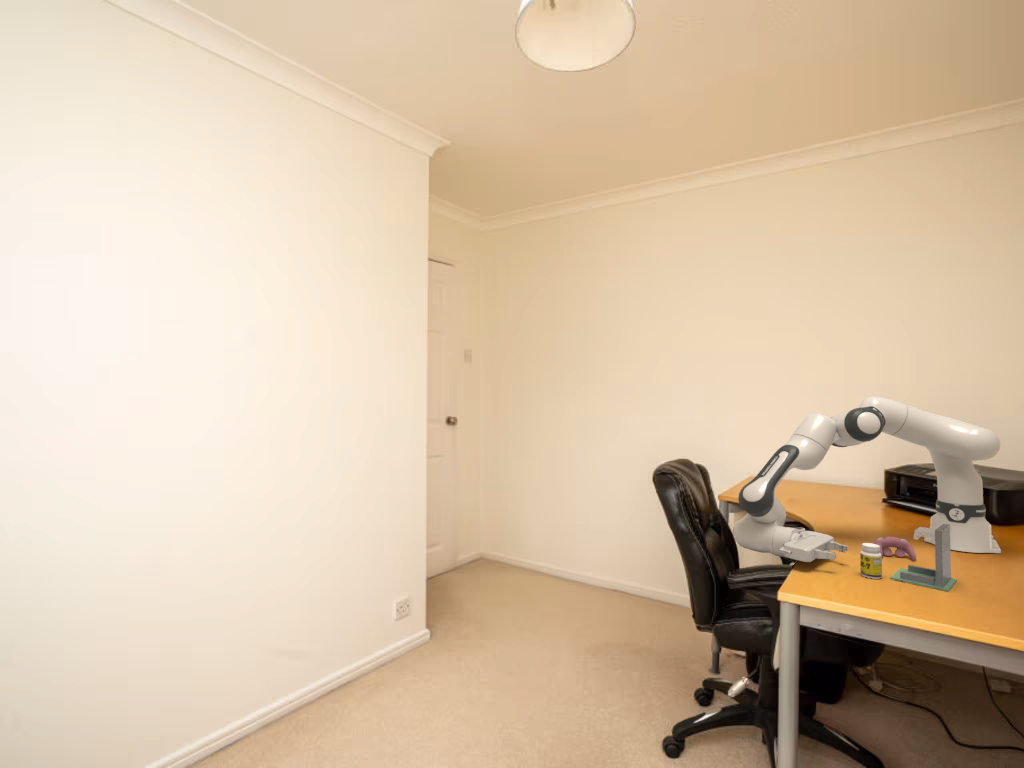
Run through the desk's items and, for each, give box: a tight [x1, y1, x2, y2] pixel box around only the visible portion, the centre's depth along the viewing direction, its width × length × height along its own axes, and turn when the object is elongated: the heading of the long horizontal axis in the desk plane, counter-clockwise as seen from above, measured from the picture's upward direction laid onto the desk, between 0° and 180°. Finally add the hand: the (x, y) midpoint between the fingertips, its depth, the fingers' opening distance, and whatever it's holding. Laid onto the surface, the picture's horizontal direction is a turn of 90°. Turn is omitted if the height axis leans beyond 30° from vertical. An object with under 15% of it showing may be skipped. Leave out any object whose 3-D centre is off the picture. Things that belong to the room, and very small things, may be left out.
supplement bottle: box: [859, 542, 883, 580], centre depth 143 cm, size 5×5×8 cm
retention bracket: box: [900, 524, 952, 588], centre depth 139 cm, size 10×9×14 cm
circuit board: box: [889, 567, 958, 592], centre depth 140 cm, size 11×12×1 cm
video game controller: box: [873, 536, 917, 562], centre depth 159 cm, size 10×5×7 cm, turn 72°
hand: (841, 552), depth 148 cm, fingers open, 8 cm apart
